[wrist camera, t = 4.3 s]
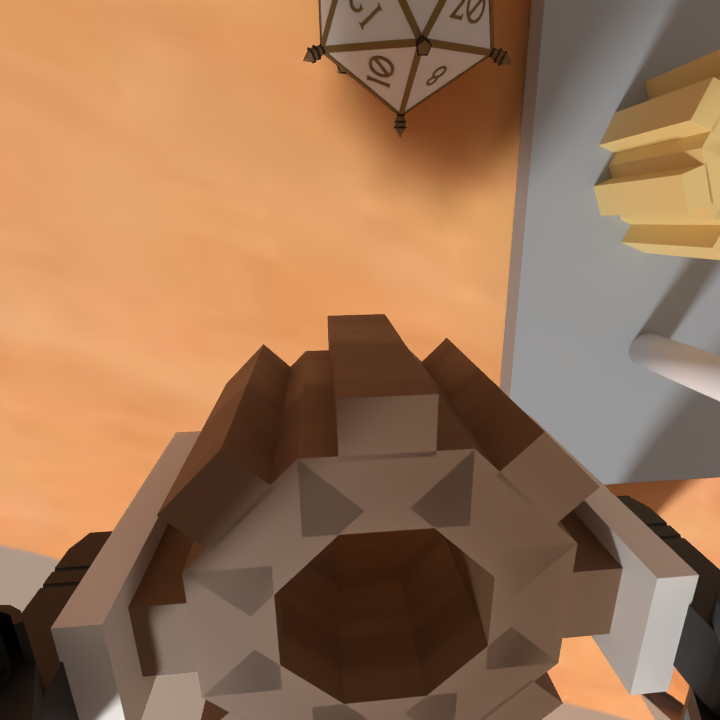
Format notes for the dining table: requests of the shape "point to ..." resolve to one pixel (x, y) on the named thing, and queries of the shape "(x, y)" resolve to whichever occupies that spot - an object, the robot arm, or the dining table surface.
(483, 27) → the game die
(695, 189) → the gear
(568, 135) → the gear board
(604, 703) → the dining table surface
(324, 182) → the dining table surface
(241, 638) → the walnut gear
